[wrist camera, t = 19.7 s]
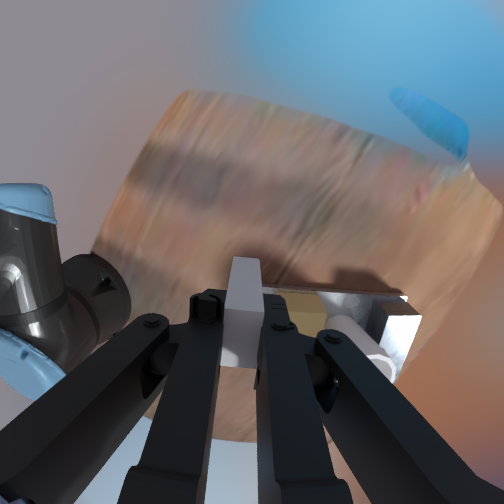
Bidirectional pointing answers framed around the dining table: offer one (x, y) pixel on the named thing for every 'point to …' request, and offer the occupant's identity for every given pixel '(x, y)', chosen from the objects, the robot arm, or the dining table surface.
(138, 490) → the robot arm
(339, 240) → the dining table surface
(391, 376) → the foam cup
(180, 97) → the dining table surface
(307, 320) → the block
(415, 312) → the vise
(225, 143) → the dining table surface
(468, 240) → the dining table surface
